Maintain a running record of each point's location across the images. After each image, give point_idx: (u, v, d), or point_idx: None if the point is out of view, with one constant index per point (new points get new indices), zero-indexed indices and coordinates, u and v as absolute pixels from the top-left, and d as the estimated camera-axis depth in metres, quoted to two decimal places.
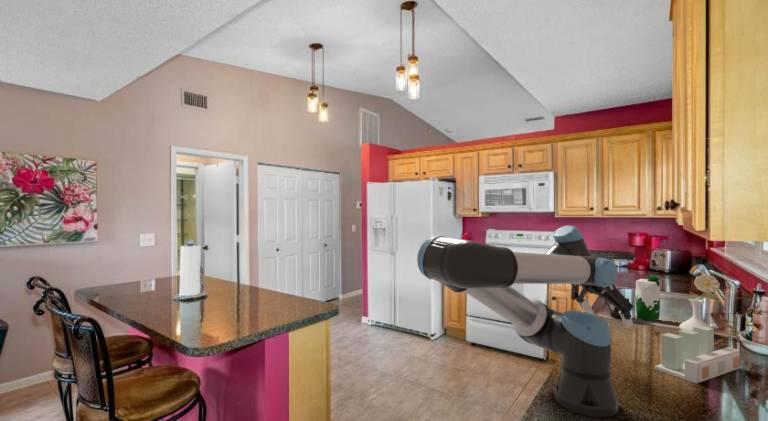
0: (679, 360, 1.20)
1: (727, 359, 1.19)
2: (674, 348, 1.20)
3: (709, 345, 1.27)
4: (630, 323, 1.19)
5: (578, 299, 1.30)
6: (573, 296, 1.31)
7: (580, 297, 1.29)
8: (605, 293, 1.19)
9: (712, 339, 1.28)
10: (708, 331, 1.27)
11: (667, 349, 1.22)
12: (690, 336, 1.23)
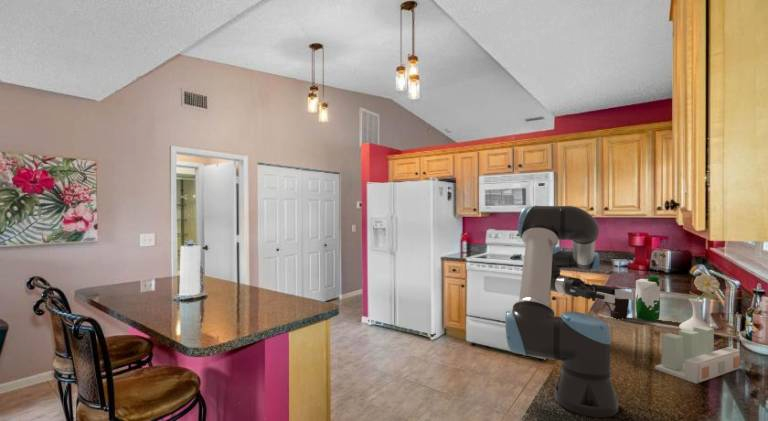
0: (679, 360, 1.20)
1: (727, 359, 1.19)
2: (674, 348, 1.20)
3: (709, 345, 1.27)
4: None
5: (592, 291, 1.41)
6: (586, 291, 1.41)
7: (590, 290, 1.43)
8: None
9: (712, 339, 1.28)
10: (708, 331, 1.27)
11: (667, 349, 1.22)
12: (690, 336, 1.23)
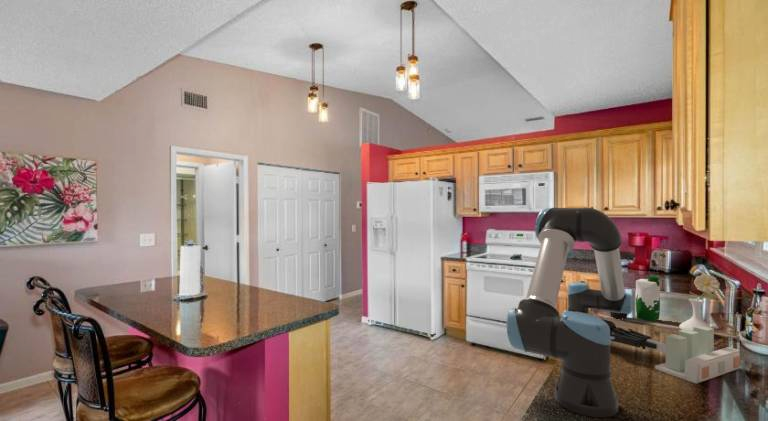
0: (683, 361, 1.19)
1: (727, 359, 1.19)
2: (678, 349, 1.19)
3: (709, 345, 1.27)
4: None
5: (640, 338, 1.30)
6: (633, 338, 1.30)
7: (635, 337, 1.32)
8: None
9: (712, 339, 1.28)
10: (708, 331, 1.27)
11: (671, 350, 1.20)
12: (690, 336, 1.23)
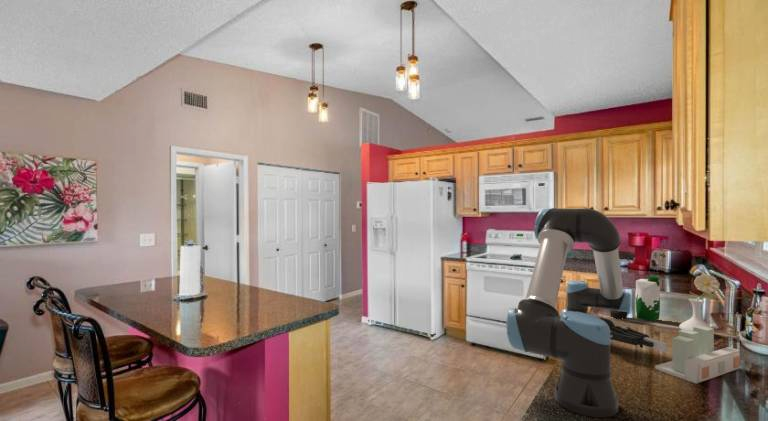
0: None
1: (727, 359, 1.19)
2: (685, 351, 1.17)
3: (709, 345, 1.27)
4: None
5: (637, 336, 1.31)
6: (631, 336, 1.31)
7: (632, 335, 1.32)
8: None
9: (712, 339, 1.28)
10: (708, 331, 1.27)
11: (678, 353, 1.19)
12: (690, 336, 1.23)
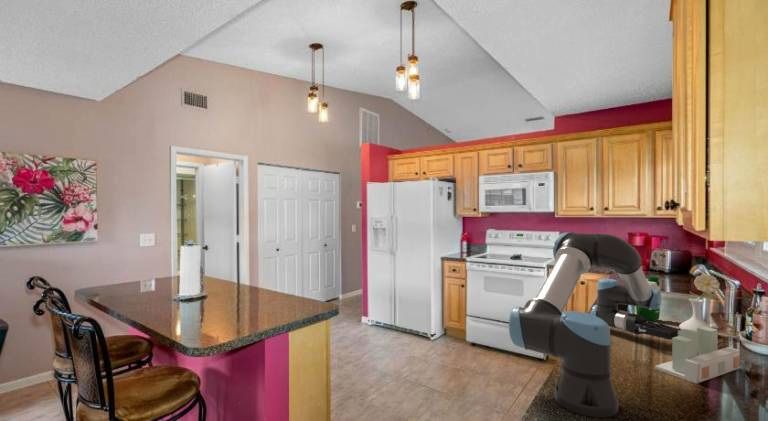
0: None
1: (727, 359, 1.19)
2: (685, 351, 1.17)
3: (712, 346, 1.26)
4: None
5: (671, 331, 1.37)
6: (665, 331, 1.38)
7: (666, 329, 1.39)
8: None
9: (716, 340, 1.27)
10: (712, 332, 1.26)
11: (678, 353, 1.19)
12: (690, 336, 1.23)
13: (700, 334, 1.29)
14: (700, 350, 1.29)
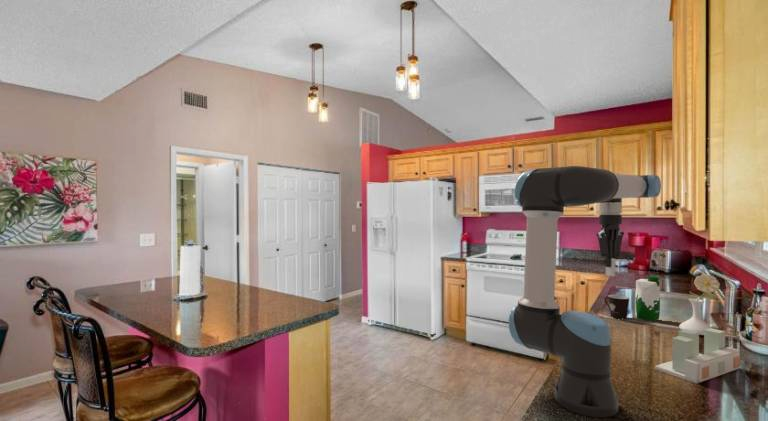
0: None
1: (727, 359, 1.19)
2: (685, 351, 1.17)
3: (720, 348, 1.24)
4: None
5: (611, 254, 1.44)
6: (607, 252, 1.43)
7: (611, 250, 1.44)
8: None
9: (724, 341, 1.25)
10: (719, 334, 1.24)
11: (678, 353, 1.19)
12: (690, 336, 1.23)
13: (707, 336, 1.27)
14: None
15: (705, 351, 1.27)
